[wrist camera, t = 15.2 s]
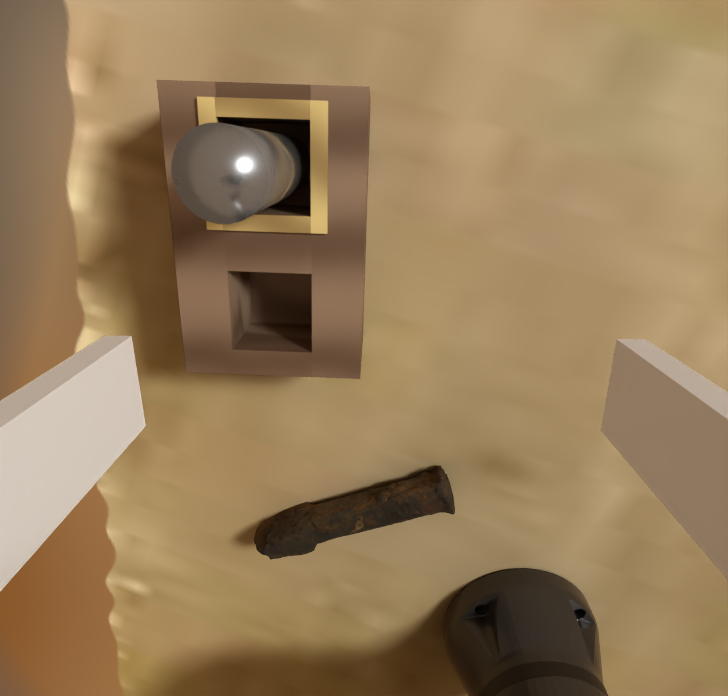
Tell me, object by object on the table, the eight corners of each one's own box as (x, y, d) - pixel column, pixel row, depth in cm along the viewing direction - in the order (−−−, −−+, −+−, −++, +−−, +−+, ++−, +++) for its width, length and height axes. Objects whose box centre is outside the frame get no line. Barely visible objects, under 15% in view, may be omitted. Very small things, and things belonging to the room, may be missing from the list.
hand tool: (443, 457, 47) (450, 487, 43) (453, 492, 49) (460, 525, 44) (249, 500, 49) (237, 534, 45) (263, 533, 51) (253, 569, 46)
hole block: (362, 339, 43) (359, 380, 35) (218, 333, 43) (184, 374, 35) (370, 99, 36) (369, 86, 29) (201, 94, 37) (154, 79, 29)
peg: (312, 195, 37) (269, 226, 22) (256, 193, 37) (176, 222, 22) (311, 135, 36) (266, 124, 21) (253, 133, 36) (166, 120, 21)
